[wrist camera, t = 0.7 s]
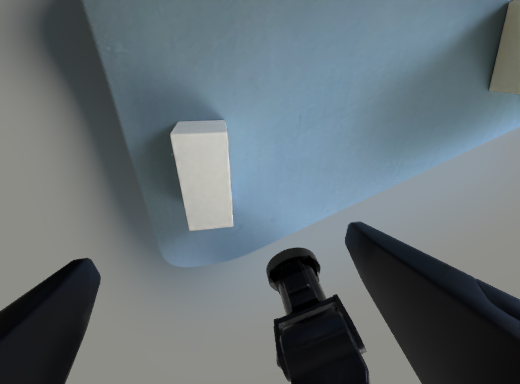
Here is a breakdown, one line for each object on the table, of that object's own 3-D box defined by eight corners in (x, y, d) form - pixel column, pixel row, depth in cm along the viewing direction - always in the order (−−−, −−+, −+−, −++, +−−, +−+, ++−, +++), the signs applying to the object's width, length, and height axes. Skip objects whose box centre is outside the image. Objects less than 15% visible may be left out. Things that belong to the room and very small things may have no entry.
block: (231, 203, 21) (234, 226, 18) (193, 207, 21) (189, 231, 18) (226, 119, 17) (228, 131, 14) (177, 121, 17) (169, 134, 14)
